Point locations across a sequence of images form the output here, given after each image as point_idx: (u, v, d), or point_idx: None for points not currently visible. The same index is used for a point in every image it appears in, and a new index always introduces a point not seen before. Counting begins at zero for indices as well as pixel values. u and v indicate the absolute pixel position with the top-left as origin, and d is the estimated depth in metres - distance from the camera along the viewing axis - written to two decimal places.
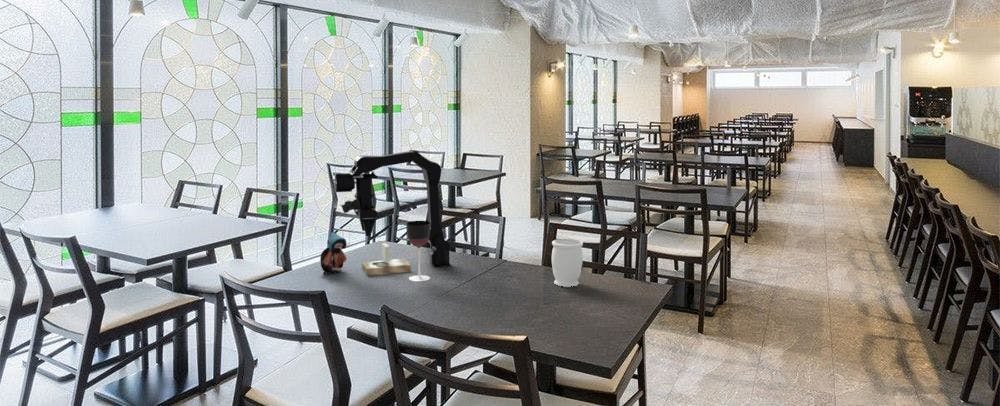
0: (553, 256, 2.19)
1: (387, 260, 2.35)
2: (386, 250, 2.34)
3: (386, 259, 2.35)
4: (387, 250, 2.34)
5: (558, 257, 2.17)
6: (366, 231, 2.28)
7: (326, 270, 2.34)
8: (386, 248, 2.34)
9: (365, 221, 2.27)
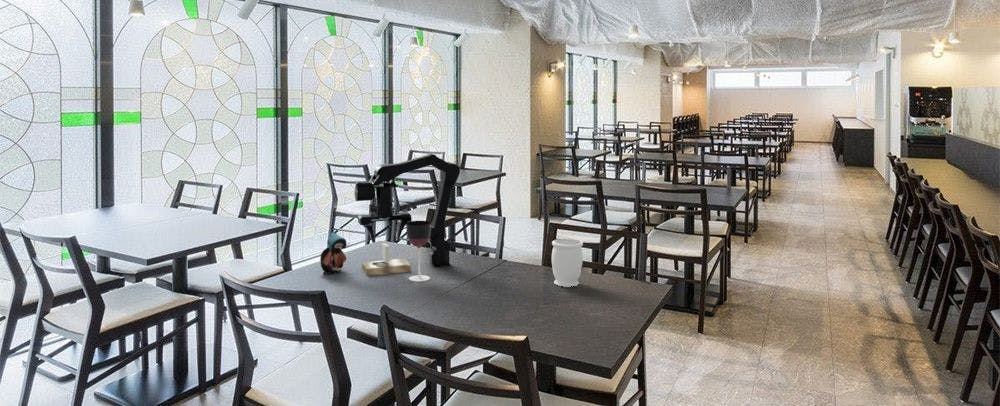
0: (553, 256, 2.19)
1: (387, 260, 2.35)
2: (386, 250, 2.34)
3: (386, 259, 2.35)
4: (387, 250, 2.34)
5: (558, 257, 2.17)
6: None
7: (326, 270, 2.34)
8: (386, 248, 2.34)
9: None
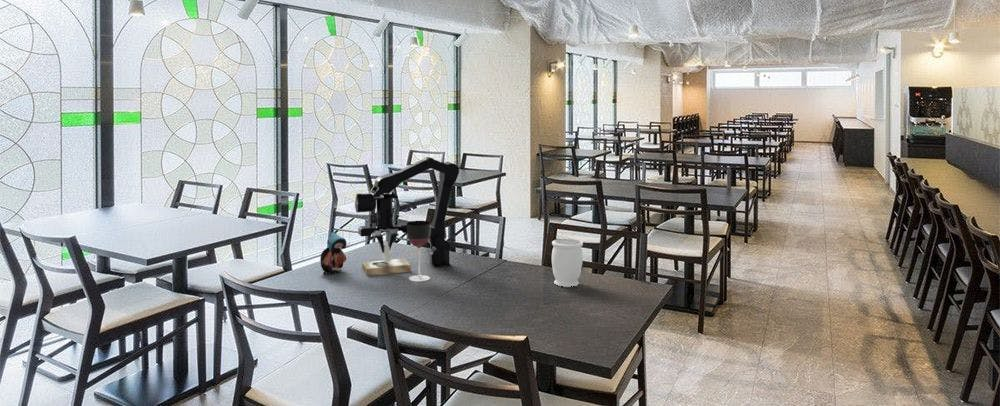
0: (553, 256, 2.19)
1: (387, 260, 2.35)
2: (386, 250, 2.34)
3: (386, 259, 2.35)
4: (387, 250, 2.34)
5: (558, 257, 2.17)
6: None
7: (326, 270, 2.34)
8: (386, 248, 2.34)
9: None
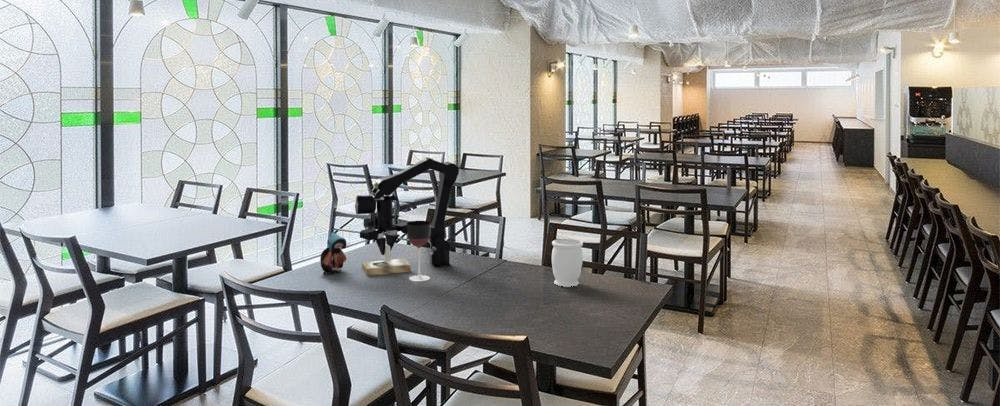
0: (553, 256, 2.19)
1: (388, 260, 2.35)
2: (387, 250, 2.34)
3: (387, 259, 2.35)
4: (388, 250, 2.35)
5: (558, 257, 2.17)
6: (380, 250, 2.36)
7: (326, 270, 2.34)
8: (387, 248, 2.34)
9: (377, 240, 2.35)
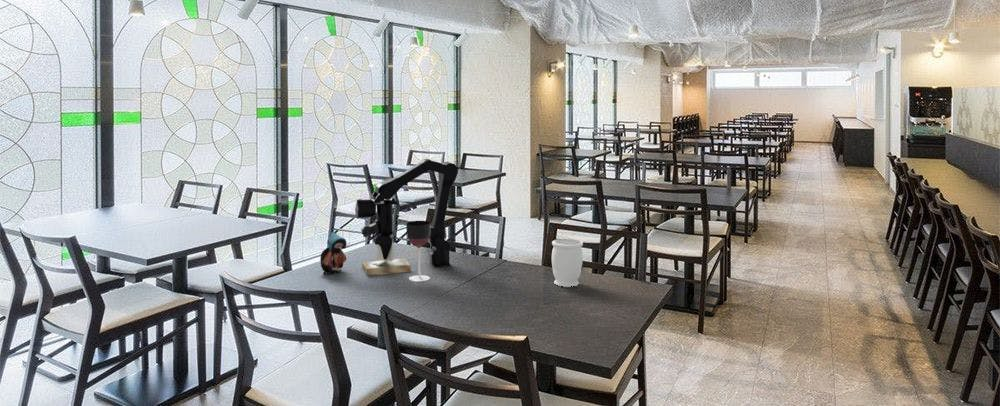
0: (553, 256, 2.19)
1: (392, 259, 2.37)
2: (392, 249, 2.36)
3: (392, 258, 2.36)
4: (392, 249, 2.36)
5: (558, 257, 2.17)
6: (383, 254, 2.35)
7: (326, 270, 2.34)
8: (392, 247, 2.36)
9: (382, 245, 2.34)
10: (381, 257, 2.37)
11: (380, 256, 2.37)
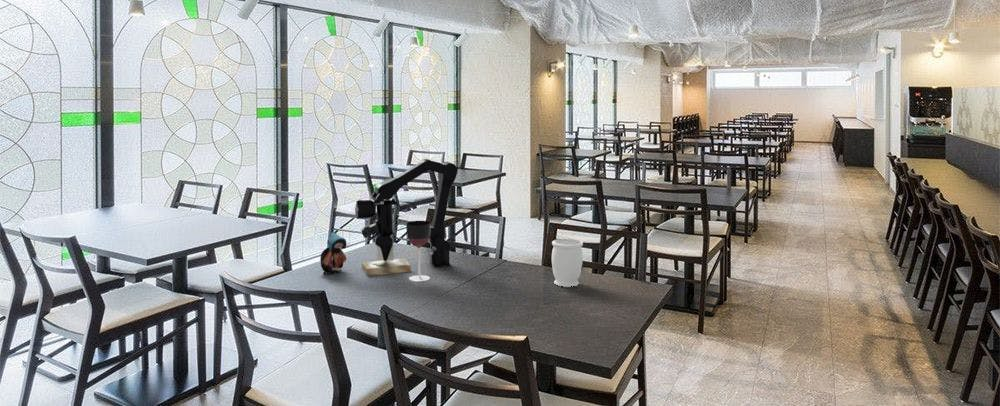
0: (553, 256, 2.19)
1: (393, 258, 2.37)
2: (393, 249, 2.36)
3: (393, 257, 2.37)
4: (393, 248, 2.37)
5: (558, 257, 2.17)
6: (383, 256, 2.34)
7: (326, 270, 2.34)
8: (393, 247, 2.36)
9: (382, 246, 2.32)
10: (381, 257, 2.37)
11: (380, 256, 2.37)
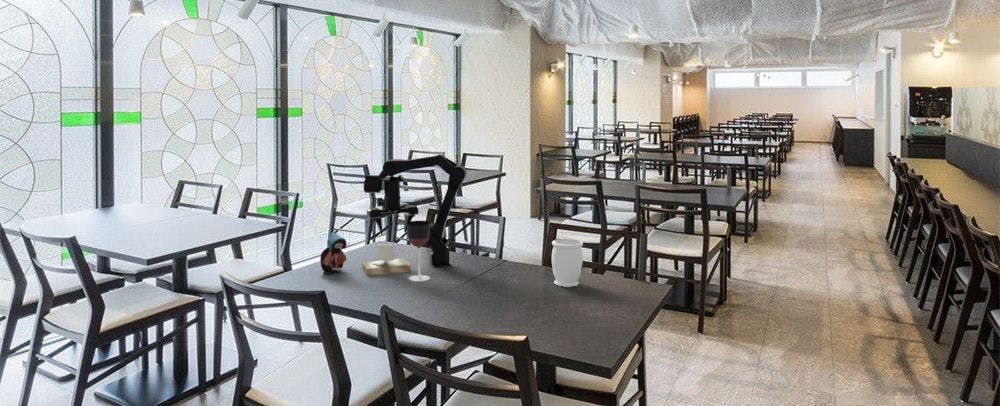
0: (553, 256, 2.19)
1: (393, 258, 2.37)
2: (393, 249, 2.36)
3: (393, 257, 2.37)
4: (393, 248, 2.37)
5: (558, 257, 2.17)
6: (379, 229, 2.43)
7: (326, 270, 2.34)
8: (393, 247, 2.36)
9: (376, 219, 2.42)
10: (381, 257, 2.37)
11: (380, 256, 2.37)
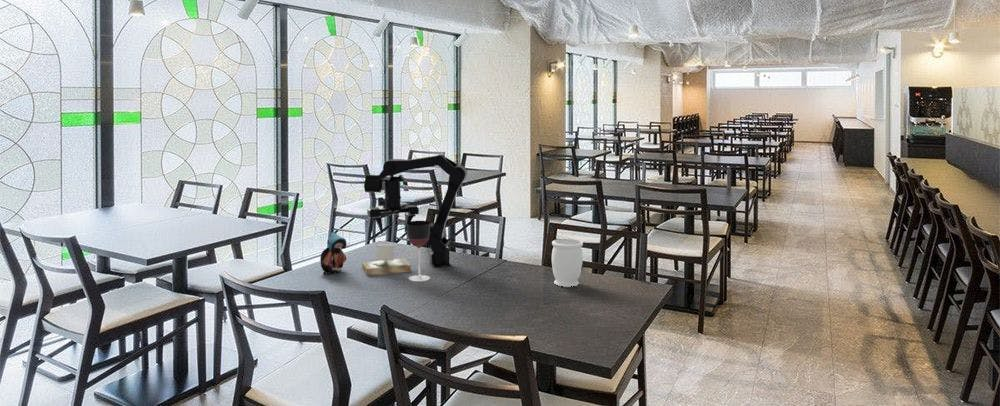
0: (553, 256, 2.19)
1: (393, 258, 2.37)
2: (393, 249, 2.36)
3: (393, 257, 2.37)
4: (393, 248, 2.37)
5: (558, 257, 2.17)
6: (379, 229, 2.44)
7: (326, 270, 2.34)
8: (393, 247, 2.36)
9: None
10: (381, 257, 2.37)
11: (380, 256, 2.37)
